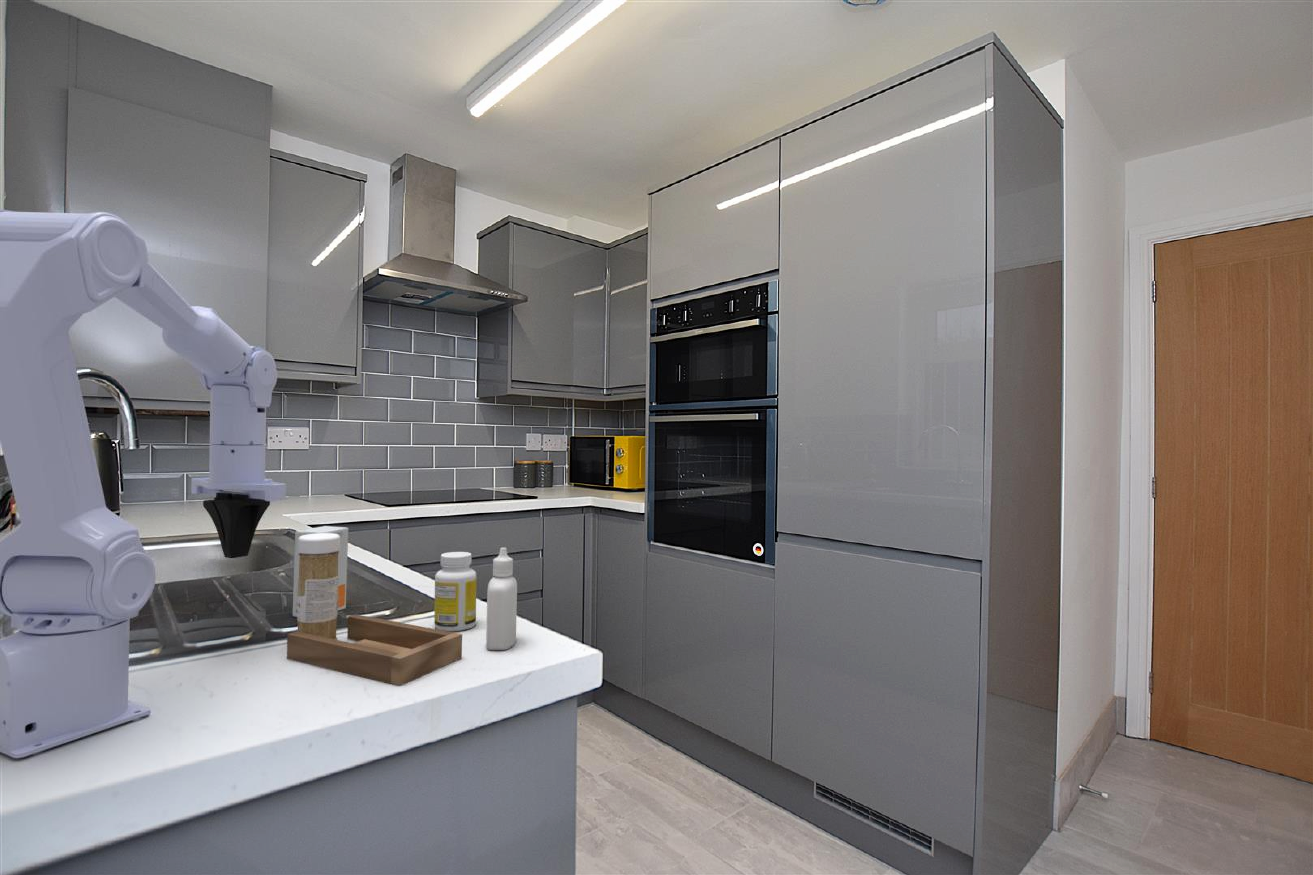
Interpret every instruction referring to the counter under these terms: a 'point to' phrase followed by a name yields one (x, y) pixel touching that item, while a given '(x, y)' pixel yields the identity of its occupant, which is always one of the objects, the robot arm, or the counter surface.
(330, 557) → the sprinkles bottle
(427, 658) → the wooden tray
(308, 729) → the counter surface
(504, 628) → the eye dropper bottle
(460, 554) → the supplement bottle
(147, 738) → the counter surface
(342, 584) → the skincare box
